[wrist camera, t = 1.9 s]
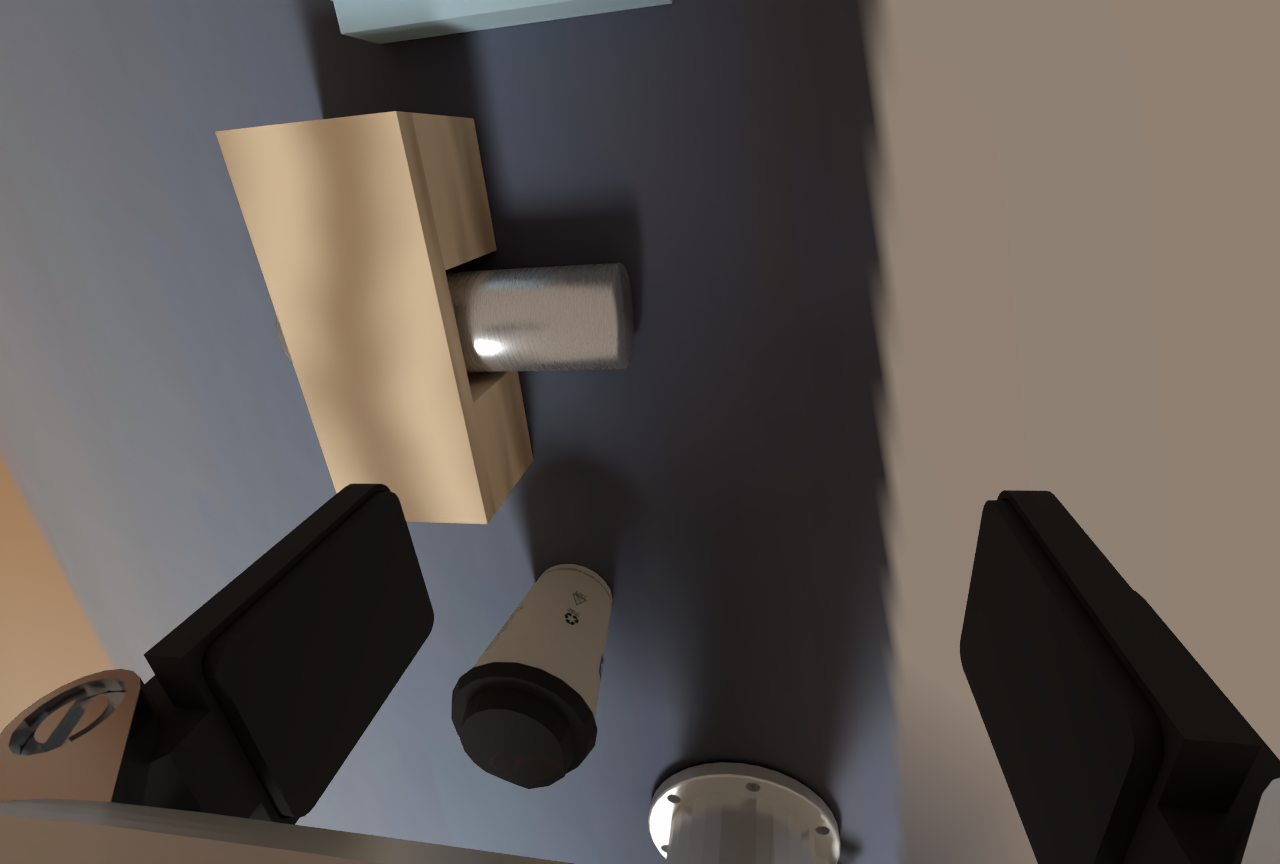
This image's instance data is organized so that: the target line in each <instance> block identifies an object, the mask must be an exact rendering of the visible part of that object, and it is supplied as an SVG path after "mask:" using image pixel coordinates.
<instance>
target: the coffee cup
mask: <svg viewBox="0 0 1280 864" xmlns="http://www.w3.org/2000/svg"><path fill="white" fill-rule="evenodd" d="M612 602H613V599H612V595H611V590H610V589H609V587H608V585H607V584H606V582H605V581H604V580H603V579H602V578H601V577H600V576H599V575H598V574H597V573H595V572H594V571H592V570H590V569H588V568H586V567H584V566H579V565H575V564H559V565H556V566H553V567H550V568H549V569H547V570H546V571H545V572H544V573H542V575H541V576H540V577H539V579H538V580H537V581H536V583H535V584H534V585H533V587H532V588H531V590H530V591H529V592H528V594H527V595H526V596H525V598H524V599H523V600H522V602H521V603H520V604H519V606H518V607H517V609H516V610H515V611H514V613H513V614H512V615H511V617H510V618H509V619H508V621H507V622H506V623H505V625H504V626H503V627H502V629H501V630H500V632H499V633H498V634H497V636H496V637H495V638H494V640H493V641H492V642H491V644H490V645H489V646H488V648H487V649H486V651H485V652H484V653H483V655H482V656H481V657H480V659H479V660H478V661H477V663H476V664H475V665H474V667H473V668H472V669H471V670H469V671H468V672H467V673H465V674H464V675H463V676H461V677H460V678H459V680H458V682H457V684H456V686H455V688H454V690H453V694H452V721H453V724H454V726H455V729H456V731H457V734H458V735H459V737H460V740H461V743H462V745H463V748H464V750H465V752H466V753H467V754H468V756H469V757H470V758H471V759H472V761H473V762H474V763H475V764H477V765H478V766H479V767H480V768H482V769H483V770H484V771H486V772H487V773H490V774H492V775H494V776H497V777H499V778H501V779H504V780H506V781H509V782H511V783H513V784H516V785H519V786H522V787H525V788H528V789H532V788H538V787H544V786H549V785H551V784H553V783H555V782H556V781H558V780H560V779H561V778H563V777H564V776H565V774H566V773H568V772H570V771H572V770H573V769H575V768H577V767H578V766H579V765H580V764H581V763H582V761H583V760H584V759H585V758H586V757H587V755H588V754H589V753H590V751H591V750H592V749H593V747H594V746H595V741H596V736H597V727H596V723H595V713H596V706H597V700H598V693H599V687H600V680H601V674H602V667H603V661H604V654H605V647H606V641H607V634H608V628H609V621H610V615H611V608H612Z"/></svg>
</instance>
